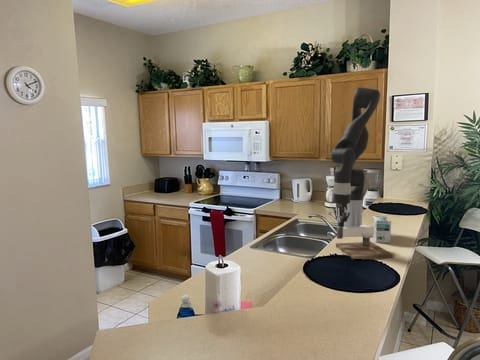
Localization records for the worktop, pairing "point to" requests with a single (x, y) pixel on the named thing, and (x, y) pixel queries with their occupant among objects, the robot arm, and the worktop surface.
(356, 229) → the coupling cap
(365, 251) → the base
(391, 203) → the worktop surface
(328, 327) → the worktop surface
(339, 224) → the robot arm
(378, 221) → the light bulb box
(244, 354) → the worktop surface
